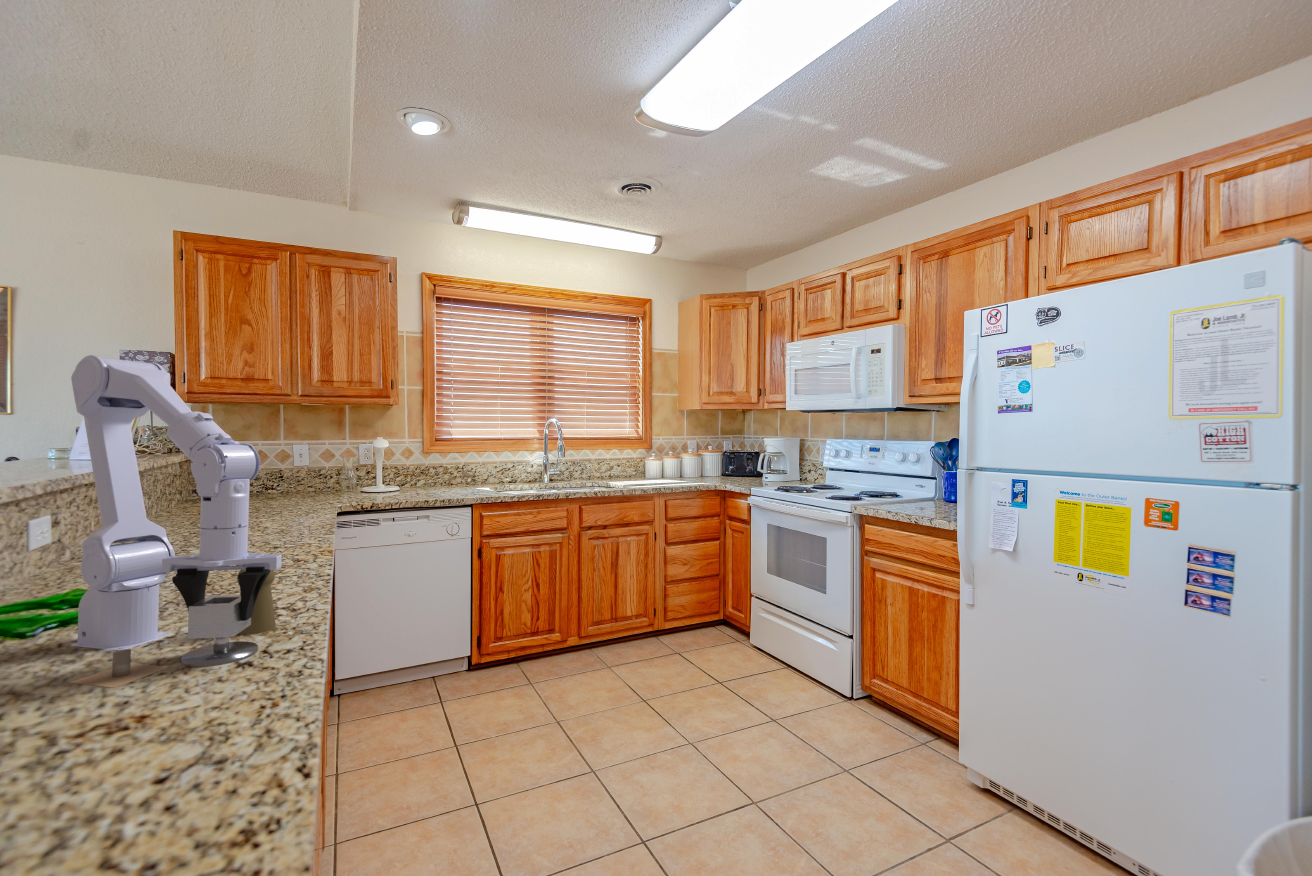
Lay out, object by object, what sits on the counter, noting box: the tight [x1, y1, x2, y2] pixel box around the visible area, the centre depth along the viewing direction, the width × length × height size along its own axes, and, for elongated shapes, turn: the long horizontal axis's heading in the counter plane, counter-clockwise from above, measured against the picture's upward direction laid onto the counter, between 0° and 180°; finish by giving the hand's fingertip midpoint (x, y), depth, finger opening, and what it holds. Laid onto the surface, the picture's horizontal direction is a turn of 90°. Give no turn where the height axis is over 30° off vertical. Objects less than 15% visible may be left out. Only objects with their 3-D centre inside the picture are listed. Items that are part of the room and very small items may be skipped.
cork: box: [236, 570, 277, 636], centre depth 98 cm, size 6×6×11 cm
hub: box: [180, 637, 259, 668], centre depth 86 cm, size 9×9×4 cm
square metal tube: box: [187, 594, 251, 640], centre depth 86 cm, size 6×6×4 cm
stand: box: [69, 648, 170, 689], centre depth 79 cm, size 7×7×4 cm
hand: (222, 619), depth 86 cm, fingers closed on square metal tube, 6 cm apart
